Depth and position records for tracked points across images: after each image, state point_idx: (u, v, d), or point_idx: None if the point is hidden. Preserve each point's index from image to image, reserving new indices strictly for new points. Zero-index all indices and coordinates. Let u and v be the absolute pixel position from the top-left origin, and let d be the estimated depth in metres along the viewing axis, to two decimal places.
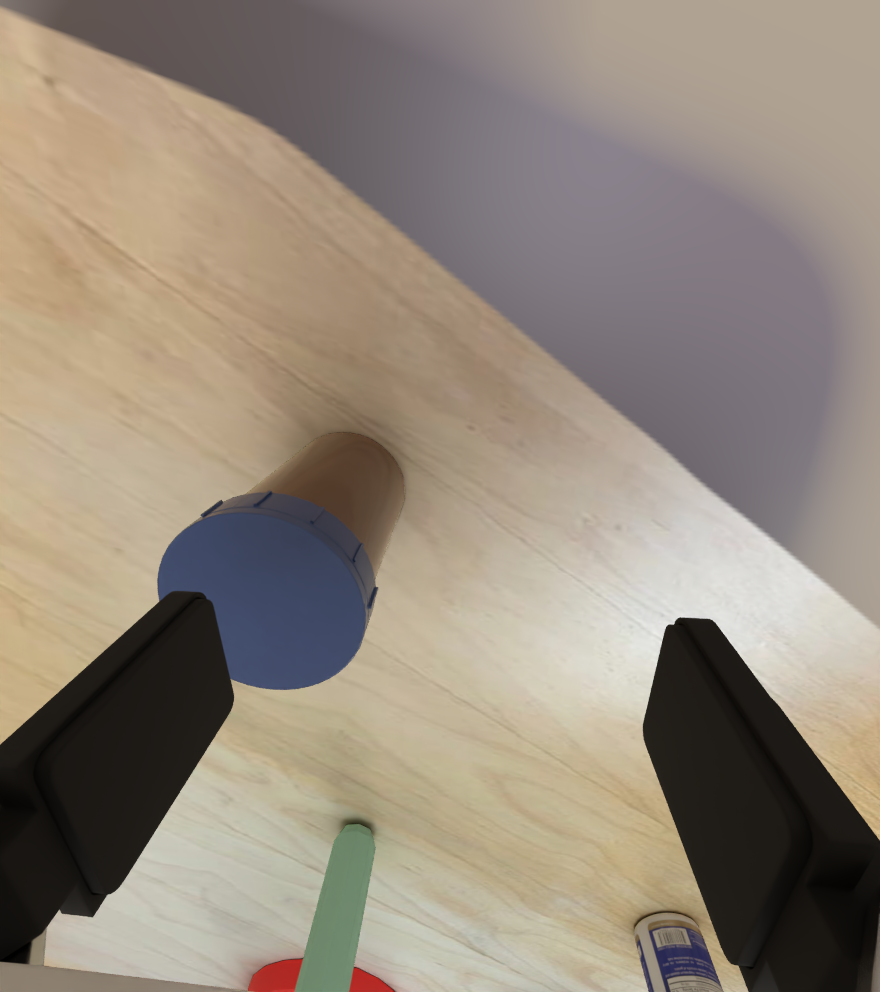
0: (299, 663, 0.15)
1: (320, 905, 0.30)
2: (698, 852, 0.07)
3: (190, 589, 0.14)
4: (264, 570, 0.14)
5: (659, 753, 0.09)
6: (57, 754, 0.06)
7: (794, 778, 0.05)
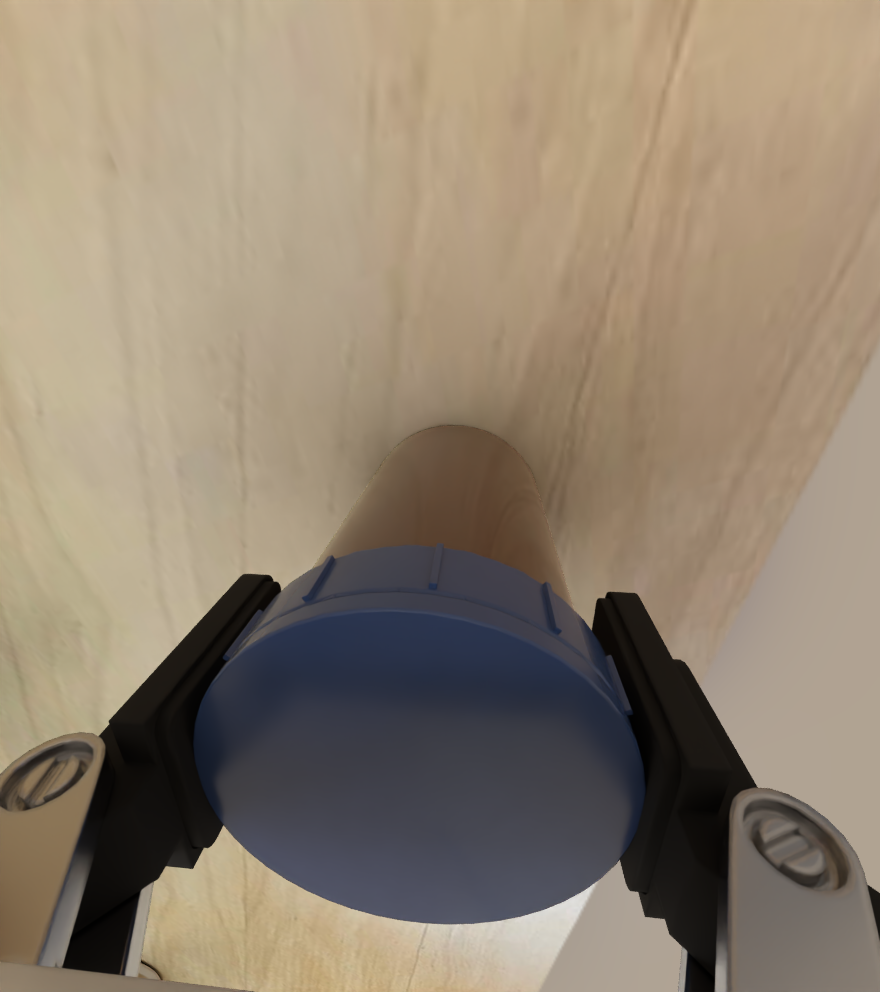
0: (328, 863, 0.08)
1: None
2: None
3: (375, 679, 0.06)
4: (509, 788, 0.07)
5: None
6: (173, 714, 0.06)
7: (675, 721, 0.06)
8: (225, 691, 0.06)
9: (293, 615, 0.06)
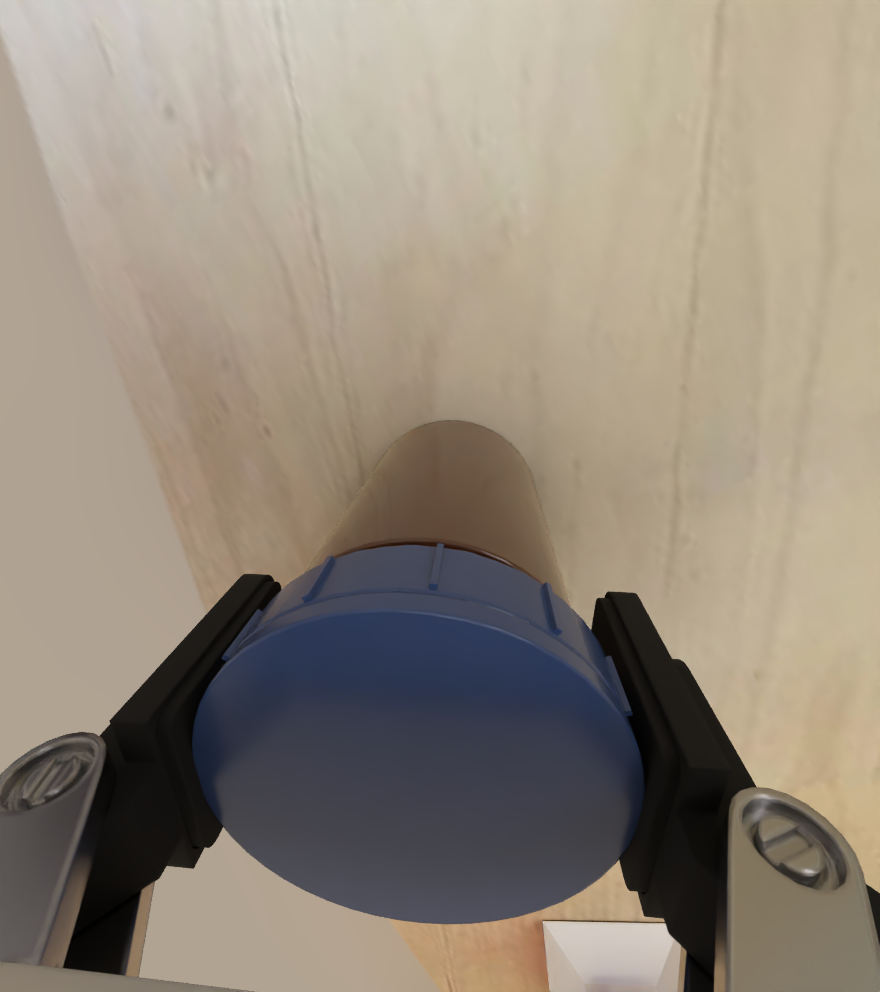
0: (327, 863, 0.08)
1: None
2: None
3: (375, 679, 0.06)
4: (509, 789, 0.07)
5: None
6: (174, 714, 0.06)
7: (674, 720, 0.06)
8: (224, 691, 0.06)
9: (293, 615, 0.06)
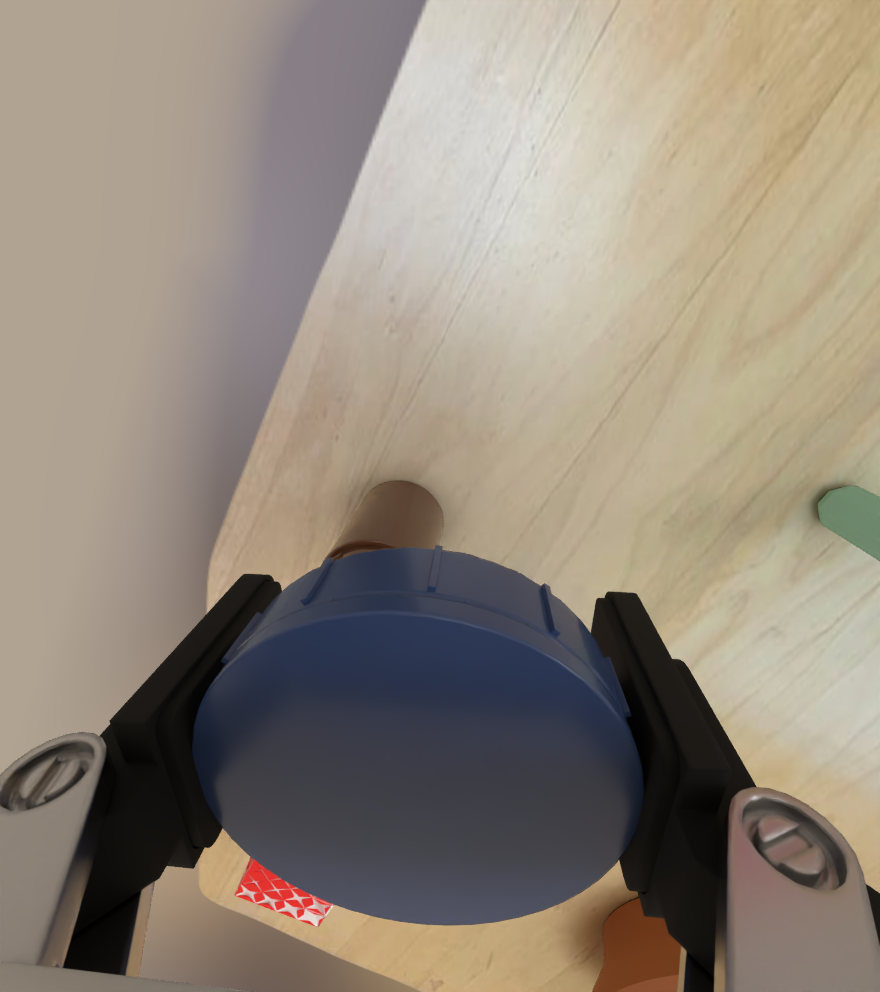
0: (327, 865, 0.08)
1: None
2: None
3: (374, 681, 0.06)
4: (508, 790, 0.07)
5: None
6: (174, 714, 0.06)
7: (674, 720, 0.06)
8: (224, 694, 0.06)
9: (292, 618, 0.06)
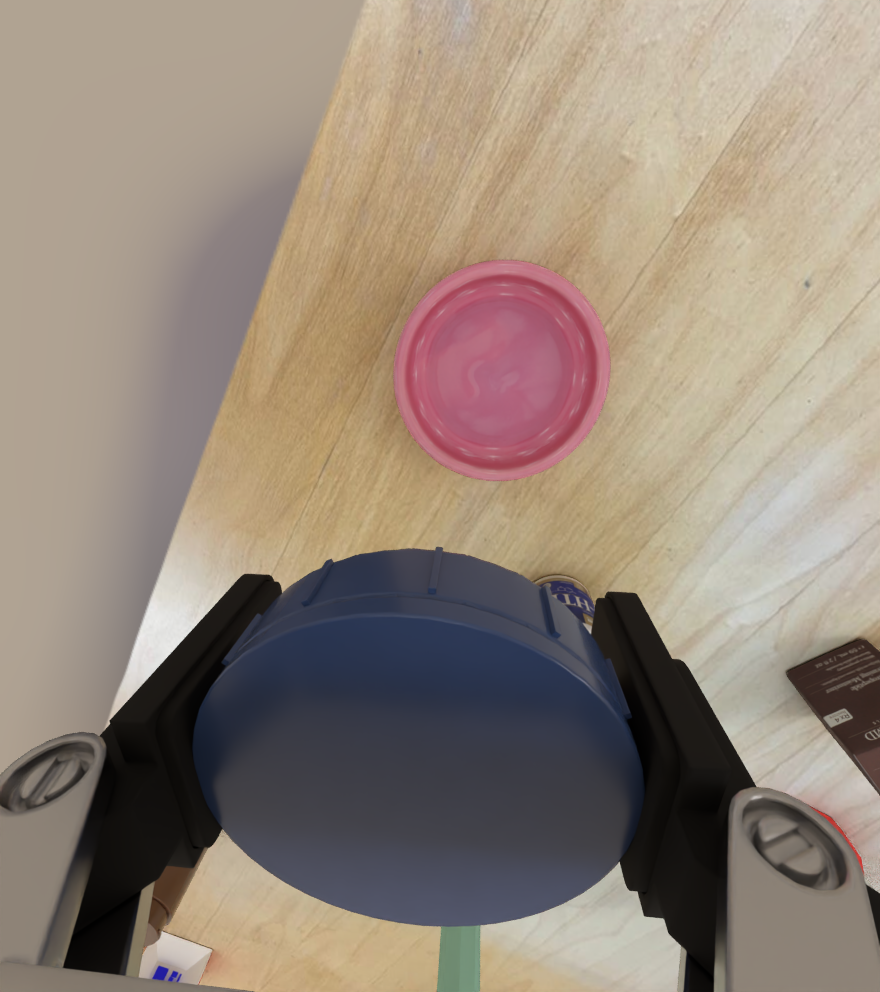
0: (328, 866, 0.08)
1: None
2: None
3: (374, 683, 0.06)
4: (509, 792, 0.07)
5: None
6: (174, 714, 0.06)
7: (674, 720, 0.06)
8: (224, 696, 0.06)
9: (292, 620, 0.06)
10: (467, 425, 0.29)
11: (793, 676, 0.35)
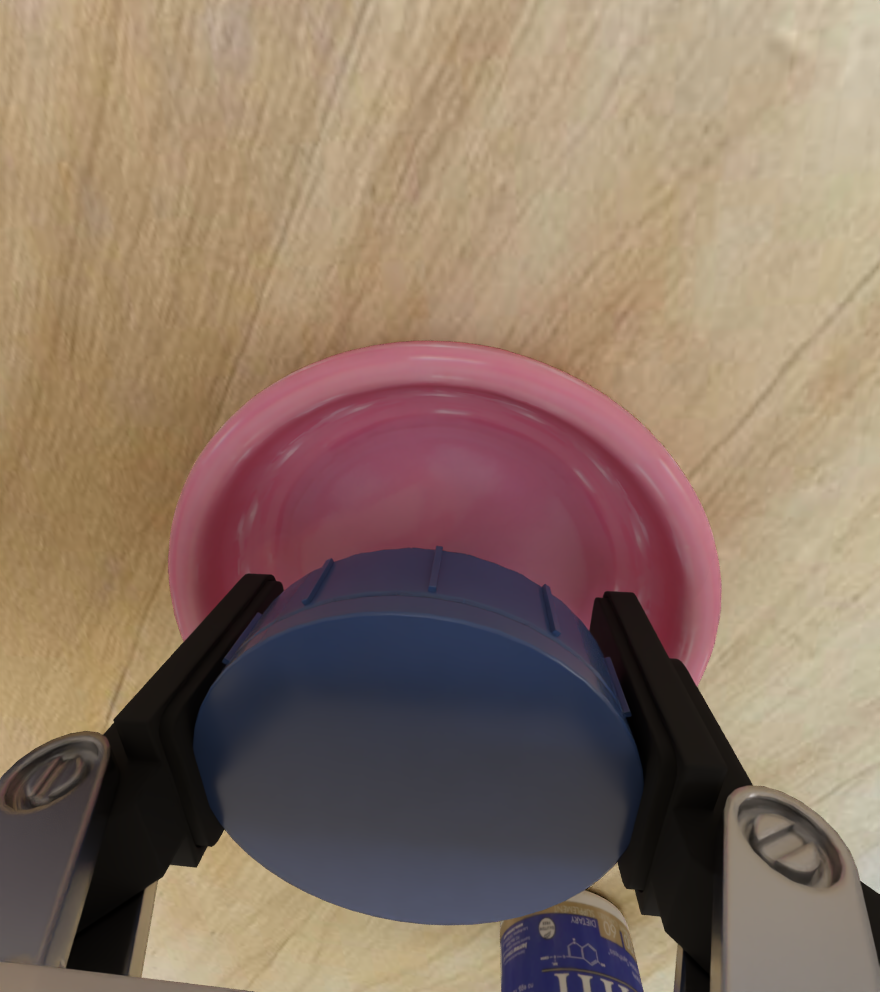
0: (328, 865, 0.08)
1: None
2: None
3: (374, 682, 0.06)
4: (509, 790, 0.07)
5: None
6: (178, 713, 0.06)
7: (671, 719, 0.06)
8: (225, 694, 0.06)
9: (293, 619, 0.06)
10: None
11: None
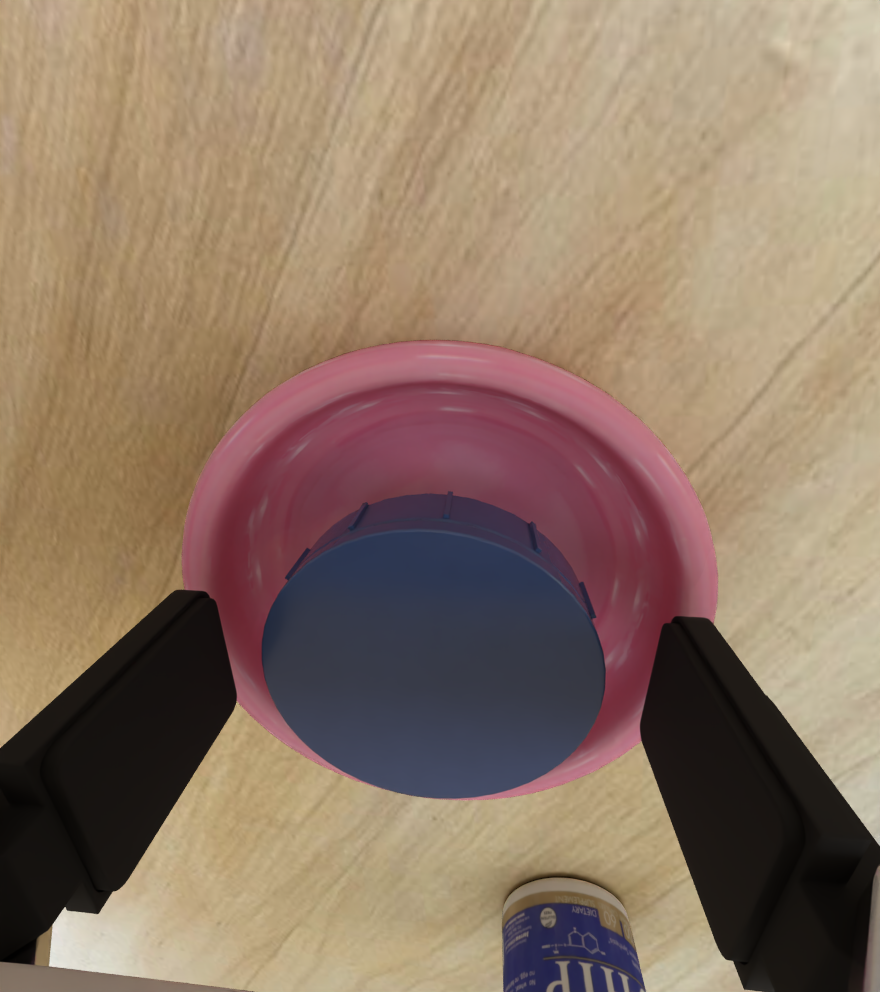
0: (362, 745, 0.10)
1: None
2: (694, 849, 0.07)
3: (403, 585, 0.08)
4: (503, 674, 0.09)
5: (656, 751, 0.09)
6: (63, 752, 0.06)
7: (787, 774, 0.05)
8: (290, 598, 0.08)
9: (342, 538, 0.08)
10: None
11: None
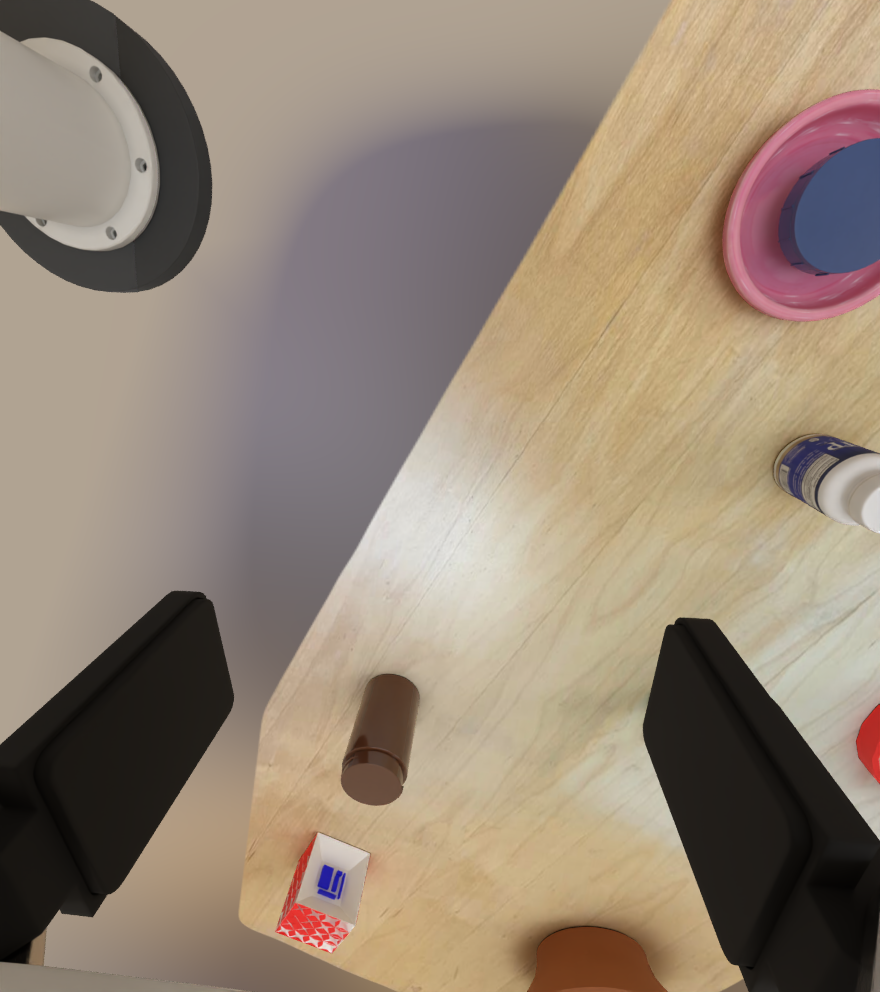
0: (821, 245, 0.27)
1: None
2: (698, 852, 0.07)
3: (864, 162, 0.26)
4: None
5: (659, 753, 0.09)
6: (57, 755, 0.06)
7: (794, 778, 0.05)
8: (822, 171, 0.26)
9: (844, 148, 0.26)
10: (770, 272, 0.31)
11: None
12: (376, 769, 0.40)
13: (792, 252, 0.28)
